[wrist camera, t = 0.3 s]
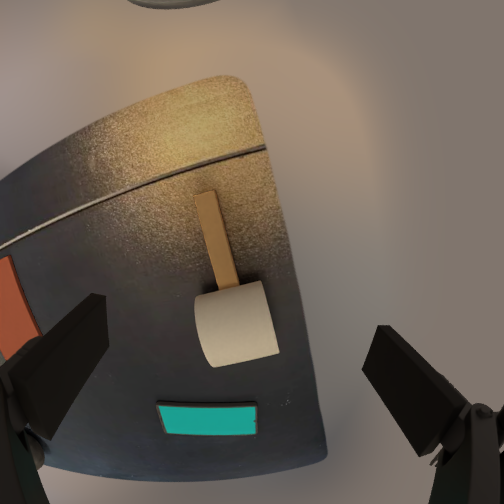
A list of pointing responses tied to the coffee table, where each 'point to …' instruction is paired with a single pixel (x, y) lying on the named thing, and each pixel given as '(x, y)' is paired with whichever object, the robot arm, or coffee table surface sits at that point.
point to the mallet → (229, 300)
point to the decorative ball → (36, 452)
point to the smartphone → (208, 418)
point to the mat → (14, 311)
